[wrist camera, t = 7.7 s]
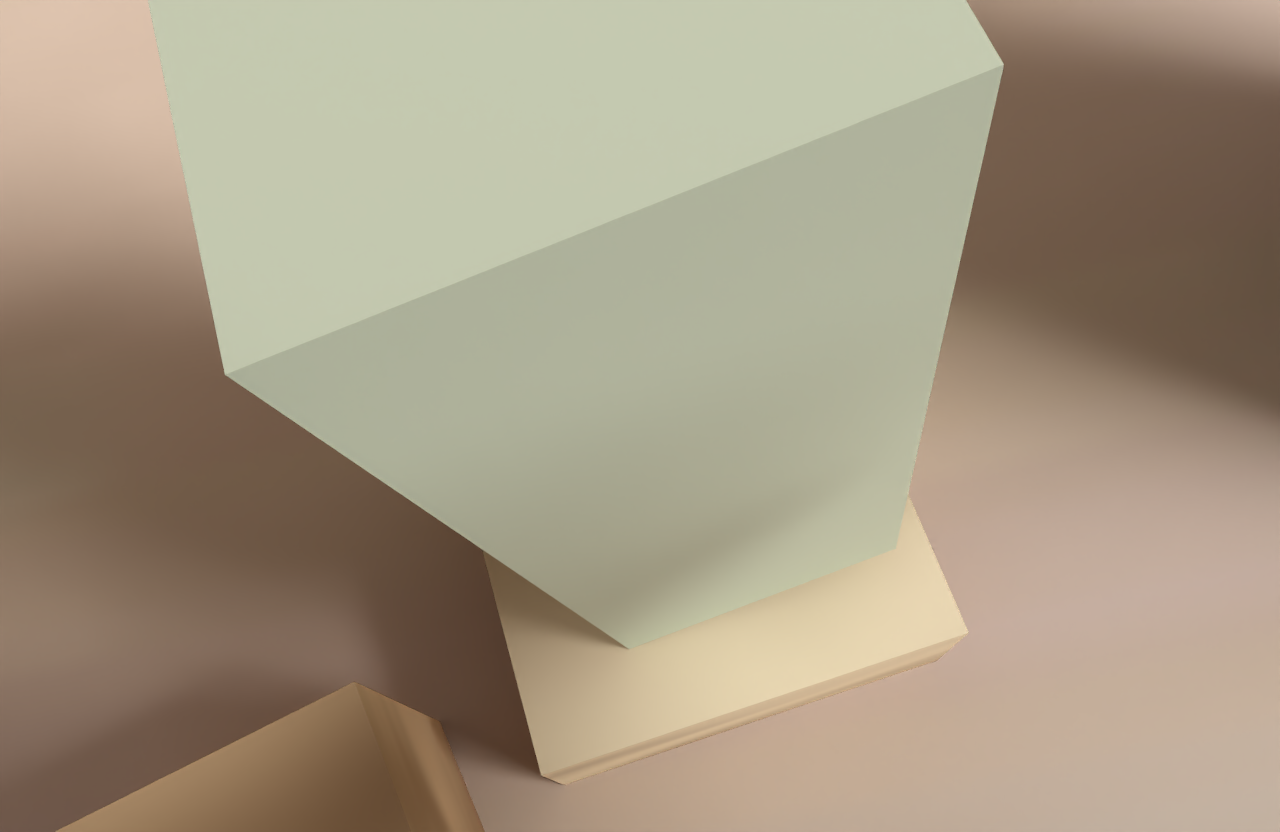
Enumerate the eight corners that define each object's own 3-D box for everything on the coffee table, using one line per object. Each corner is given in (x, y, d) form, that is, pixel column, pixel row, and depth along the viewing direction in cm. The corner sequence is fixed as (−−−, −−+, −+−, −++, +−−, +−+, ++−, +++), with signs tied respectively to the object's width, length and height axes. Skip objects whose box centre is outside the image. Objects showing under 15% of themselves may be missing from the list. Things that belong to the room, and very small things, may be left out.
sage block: (895, 549, 17) (1004, 62, 6) (629, 649, 17) (225, 373, 6) (789, 309, 18) (710, -430, 7) (547, 403, 19) (110, -175, 8)
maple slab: (932, 664, 19) (968, 633, 17) (566, 786, 19) (541, 775, 16) (797, 338, 22) (808, 265, 19) (473, 440, 22) (437, 381, 19)
